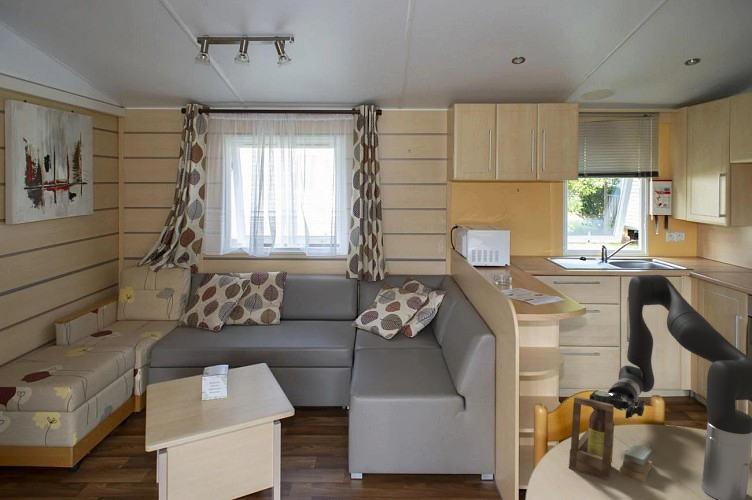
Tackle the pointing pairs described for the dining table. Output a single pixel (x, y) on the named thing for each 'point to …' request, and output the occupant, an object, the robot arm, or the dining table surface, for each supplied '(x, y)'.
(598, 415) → the sauce bottle
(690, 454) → the dining table surface
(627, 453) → the offcut stack
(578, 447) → the walnut rack
